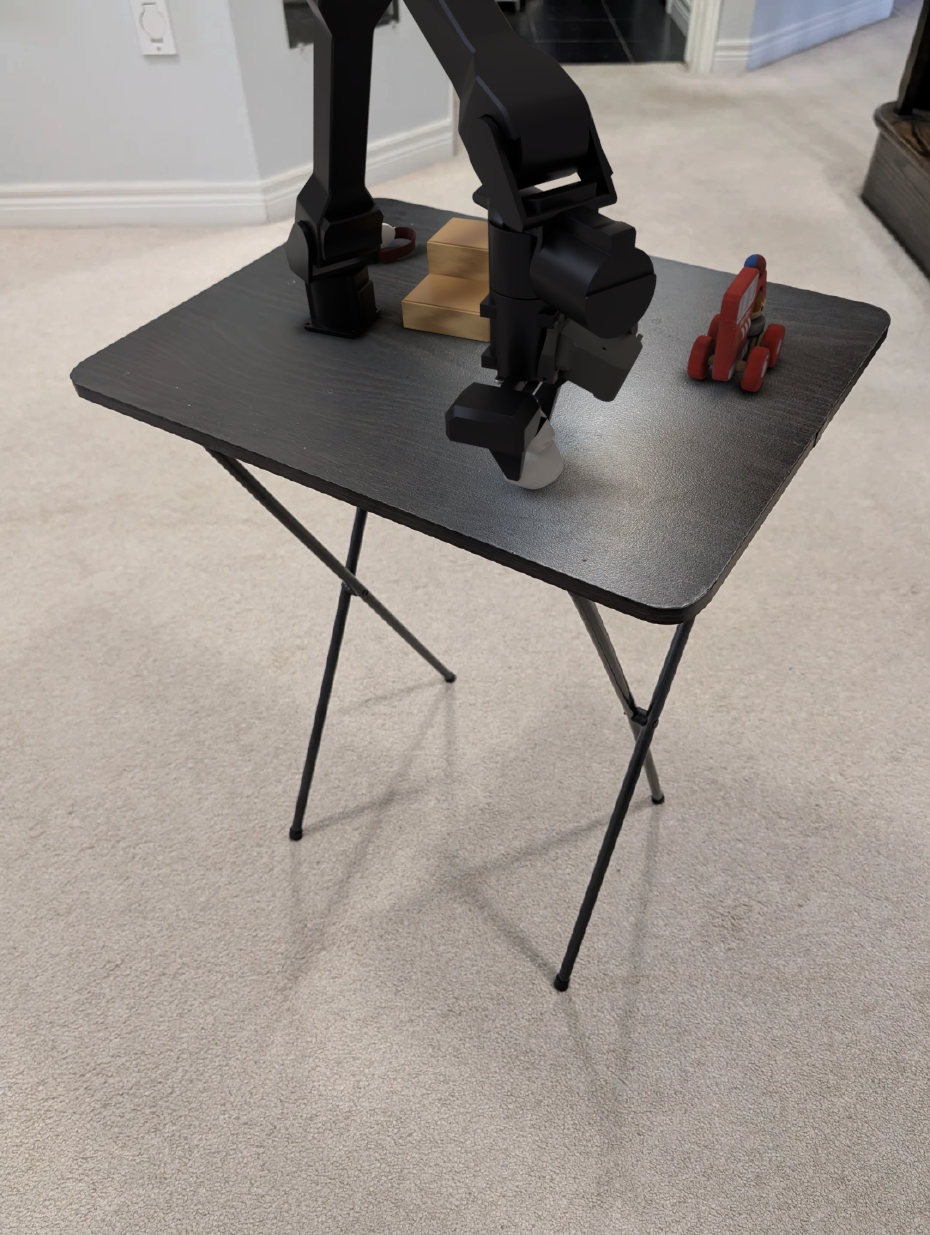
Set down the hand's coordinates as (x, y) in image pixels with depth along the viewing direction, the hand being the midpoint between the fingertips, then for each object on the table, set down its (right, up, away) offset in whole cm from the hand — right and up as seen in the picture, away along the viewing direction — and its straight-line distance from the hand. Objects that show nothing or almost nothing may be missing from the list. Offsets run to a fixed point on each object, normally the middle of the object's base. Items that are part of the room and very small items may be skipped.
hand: (525, 460), depth 75 cm
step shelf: (-4, +22, +24) cm, 33 cm away
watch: (-15, +31, +35) cm, 49 cm away
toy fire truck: (+22, +11, +13) cm, 27 cm away
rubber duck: (0, -1, +2) cm, 2 cm away
